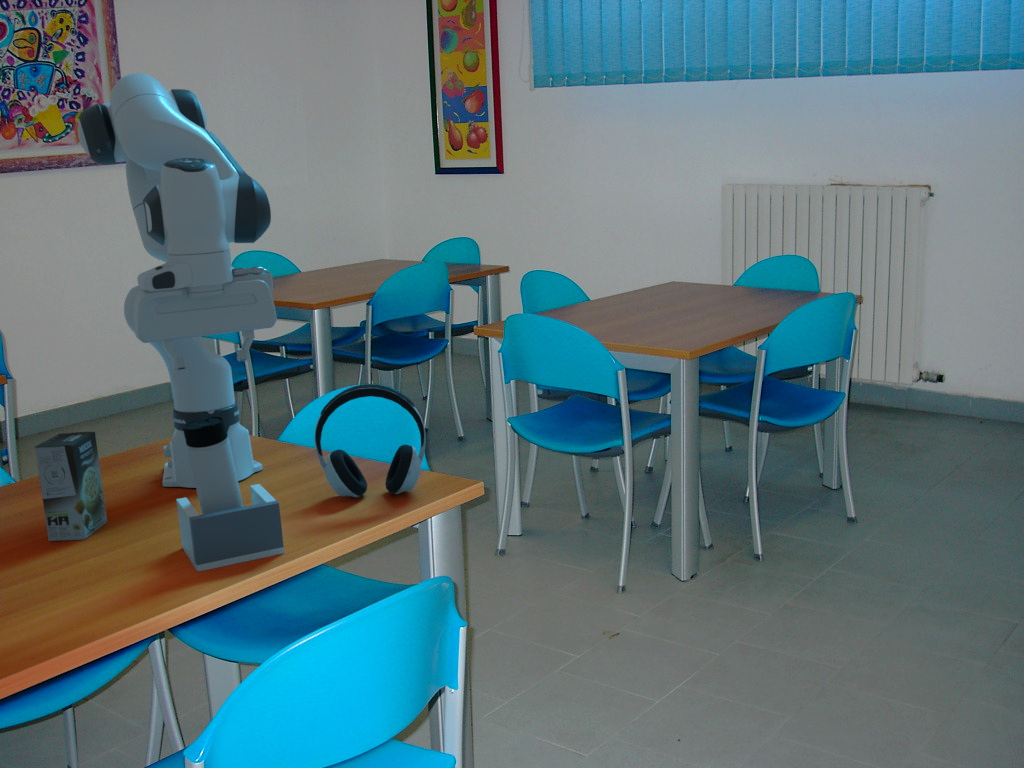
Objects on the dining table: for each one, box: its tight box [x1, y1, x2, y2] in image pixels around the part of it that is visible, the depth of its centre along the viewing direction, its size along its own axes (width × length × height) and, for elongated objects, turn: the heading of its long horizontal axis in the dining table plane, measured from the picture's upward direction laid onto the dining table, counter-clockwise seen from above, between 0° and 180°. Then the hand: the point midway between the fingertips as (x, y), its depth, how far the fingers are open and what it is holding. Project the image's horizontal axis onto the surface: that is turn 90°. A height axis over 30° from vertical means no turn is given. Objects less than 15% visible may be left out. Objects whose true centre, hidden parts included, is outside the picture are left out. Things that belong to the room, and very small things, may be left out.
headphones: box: [314, 383, 427, 498], centre depth 189 cm, size 19×8×20 cm, turn 95°
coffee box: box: [34, 431, 108, 542], centre depth 179 cm, size 9×6×16 cm
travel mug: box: [183, 416, 244, 515], centre depth 166 cm, size 6×7×20 cm
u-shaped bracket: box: [176, 483, 285, 573], centre depth 167 cm, size 12×13×8 cm
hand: (211, 364), depth 161 cm, fingers open, 8 cm apart
